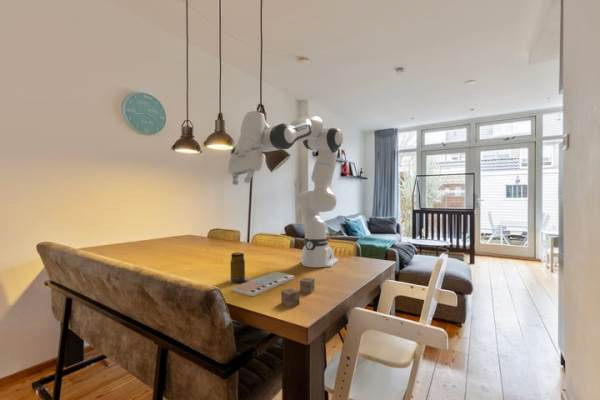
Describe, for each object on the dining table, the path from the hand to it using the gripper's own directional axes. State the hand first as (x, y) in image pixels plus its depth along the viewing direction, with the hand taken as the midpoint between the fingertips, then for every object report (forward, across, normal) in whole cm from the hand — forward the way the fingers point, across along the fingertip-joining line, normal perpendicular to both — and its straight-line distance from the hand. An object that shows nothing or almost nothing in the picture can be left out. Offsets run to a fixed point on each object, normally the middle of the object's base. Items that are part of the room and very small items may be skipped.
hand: (240, 183), depth 110 cm
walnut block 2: (+36, -14, -30) cm, 49 cm away
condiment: (+38, +14, -17) cm, 44 cm away
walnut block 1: (+40, -20, -18) cm, 48 cm away
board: (+37, +3, -22) cm, 43 cm away
